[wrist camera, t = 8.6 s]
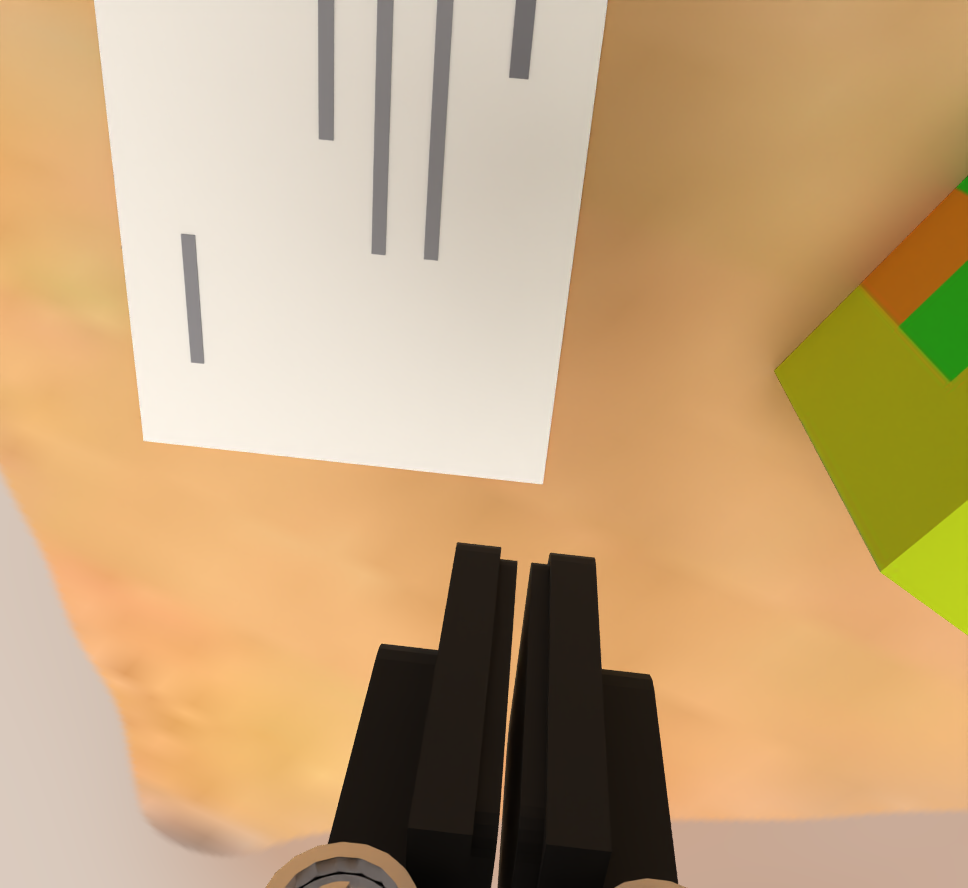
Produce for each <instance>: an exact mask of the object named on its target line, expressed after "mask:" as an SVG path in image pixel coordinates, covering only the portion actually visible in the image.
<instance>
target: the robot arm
mask: <svg viewBox="0 0 968 888" xmlns="http://www.w3.org/2000/svg"><path fill="white" fill-rule="evenodd" d="M500 554H501V547H494V546H485V545H476V544H467V543H459V542H457V546H456V551H455V557H454V563H453V569H452V574H451V580H450V586H449V592H448V598H447V603H446V609H445V615H444V621H443V626H442V632H441V638H440V644H439V650H432V649H423V648H414V647H406V646H397V645H388V644H381V645H380V647H379V649H378V653H377V656H376V660H375V663H374V667H373V671H372V675H371V679H370V683H369V687H368V691H367V694H366V698H365V702H364V706H363V710H362V714H361V718H360V722H359V725H358V729H357V733H356V737H355V741H354V745H353V749H352V753H351V756H350V760H349V764H348V768H347V772H346V776H345V780H344V784H343V787H342V791H341V795H340V799H339V803H338V807H337V811H336V815H335V818H334V822H333V826H332V830H331V834H330V838H329V842H328V844H327V845H320V846H317V847H315V848H312V849H310V850H308V851H306V852H304V853H302V854H299V855H297V856H295V857H294V858H293V859H291V860H290V861H289V862H288V863H287V864H286V865H284V866H283V867H282V868H281V869H279V870H278V871H277V872H276V873H275V874H274V876H273V878H272V879H271V880H270V882H269V883H268V885H267V886H266V888H491V883H492V876H493V869H494V861H495V853H496V845H497V836H498V826H499V815H500V802H501V788H502V774H503V760H504V746H505V732H506V717H507V703H508V689H509V675H510V661H511V647H512V633H513V618H514V604H515V590H516V576H517V561H512V560H503V559H500ZM498 888H686V887H683V886H681V885H678V879H677V871H676V863H675V854H674V846H673V838H672V830H671V822H670V814H669V806H668V798H667V789H666V781H665V773H664V765H663V757H662V749H661V741H660V733H659V725H658V717H657V708H656V700H655V692H654V686H653V681H652V678H651V676H650V675H649V674H640V673H632V672H623V671H614V670H605V669H602V668H601V649H600V631H599V613H598V595H597V576H596V562H595V558H593V557H584V556H575V555H566V554H557V553H550V555H549V559H548V564H539V563H531V568H530V575H529V582H528V589H527V597H526V604H525V612H524V619H523V626H522V634H521V641H520V649H519V656H518V663H517V671H516V678H515V686H514V693H513V700H512V708H511V715H510V723H509V732H508V743H507V756H506V771H505V786H504V800H503V815H502V830H501V846H500V860H499V876H498Z"/></svg>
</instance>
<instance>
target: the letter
mask: <svg viewBox="0 0 968 888" xmlns="http://www.w3.org/2000/svg"><path fill="white" fill-rule="evenodd" d="M607 3H608V0H94V4H95V13H96V22H97V31H98V40H99V49H100V58H101V66H102V75H103V84H104V93H105V102H106V111H107V120H108V129H109V137H110V146H111V155H112V164H113V173H114V182H115V191H116V199H117V208H118V217H119V226H120V235H121V244H122V253H123V262H124V270H125V279H126V288H127V297H128V306H129V315H130V324H131V332H132V341H133V350H134V359H135V368H136V377H137V386H138V395H139V403H140V412H141V421H142V430H143V439H144V441H150V442H159V443H168V444H177V445H186V446H196V447H205V448H214V449H223V450H232V451H241V452H251V453H260V454H269V455H278V456H287V457H297V458H306V459H315V460H324V461H333V462H342V463H352V464H361V465H370V466H379V467H388V468H397V469H407V470H416V471H425V472H434V473H443V474H452V475H462V476H471V477H480V478H489V479H498V480H508V481H517V482H526V483H535V484H543V479H544V472H545V464H546V457H547V449H548V442H549V435H550V427H551V420H552V412H553V405H554V397H555V390H556V382H557V375H558V367H559V360H560V353H561V345H562V338H563V330H564V323H565V315H566V308H567V300H568V293H569V286H570V278H571V271H572V263H573V256H574V248H575V241H576V233H577V226H578V219H579V211H580V204H581V196H582V189H583V181H584V174H585V166H586V159H587V152H588V144H589V137H590V129H591V122H592V114H593V107H594V99H595V92H596V85H597V77H598V70H599V62H600V55H601V47H602V40H603V32H604V25H605V18H606V10H607Z"/></svg>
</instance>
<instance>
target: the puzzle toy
mask: <svg viewBox="0 0 968 888" xmlns="http://www.w3.org/2000/svg"><path fill="white" fill-rule="evenodd" d="M774 372H775V374H776V376H777V378H778V380H779V382H780V383H781V385H782V387H783V389H784V391H785V393H786V395H787V397H788V399H789V400H790V402H791V404H792V406H793V408H794V410H795V412H796V414H797V416H798V417H799V419H800V421H801V423H802V425H803V427H804V429H805V431H806V433H807V435H808V436H809V438H810V440H811V442H812V444H813V446H814V448H815V450H816V452H817V453H818V455H819V457H820V459H821V461H822V463H823V465H824V467H825V469H826V471H827V472H828V474H829V476H830V478H831V480H832V482H833V484H834V486H835V488H836V489H837V491H838V493H839V495H840V497H841V499H842V501H843V503H844V505H845V506H846V508H847V510H848V512H849V514H850V516H851V518H852V520H853V522H854V524H855V525H856V527H857V529H858V531H859V533H860V535H861V537H862V539H863V541H864V542H865V544H866V546H867V548H868V550H869V552H870V554H871V556H872V558H873V560H874V561H875V563H876V565H877V567H878V569H879V571H880V572H881V573H882V574H884V575H885V576H886V577H888V578H889V579H890V580H892V581H893V582H895V583H896V584H897V585H899V586H900V587H901V588H903V589H904V590H906V591H907V592H908V593H910V594H911V595H913V596H914V597H915V598H917V599H918V600H919V601H921V602H922V603H924V604H925V605H926V606H928V607H929V608H931V609H932V610H933V611H935V612H936V613H937V614H939V615H940V616H942V617H943V618H944V619H946V620H947V621H949V622H950V623H951V624H953V625H954V626H955V627H957V628H958V629H960V630H961V631H962V632H964V633H965V634H966V635H968V176H967V177H966V178H965V179H964V180H963V181H962V182H961V183H960V184H959V185H958V186H957V187H956V188H955V189H954V190H953V191H952V192H951V193H950V194H949V195H948V196H947V197H946V198H945V199H944V200H943V201H942V202H941V203H940V204H939V205H938V206H937V207H936V208H935V209H934V210H933V211H932V212H931V213H930V214H929V215H928V216H927V217H926V218H925V219H924V220H923V221H922V222H921V223H920V224H919V225H918V226H917V227H916V228H915V229H914V230H913V231H912V232H911V233H910V234H909V235H908V236H907V237H906V238H905V239H904V240H903V241H902V242H901V243H900V244H899V245H898V246H897V247H896V248H895V249H894V250H893V251H892V252H891V253H890V255H889V256H888V257H887V258H886V259H885V260H884V261H883V262H882V263H881V264H880V265H879V266H878V267H877V268H876V269H875V270H874V271H873V272H872V273H871V274H870V275H869V276H868V277H867V278H866V279H865V280H864V281H863V282H862V283H861V284H860V285H859V286H858V287H857V288H856V289H855V290H854V291H853V292H852V293H851V294H850V295H849V296H848V297H847V298H846V299H845V300H844V301H843V302H842V303H841V304H840V305H839V306H838V307H837V308H836V309H835V310H834V311H833V312H832V313H831V314H830V315H829V316H828V317H827V318H826V319H825V320H824V321H823V322H822V323H821V324H820V325H819V326H818V327H817V328H816V329H815V330H814V331H813V332H812V333H811V334H810V335H809V336H808V337H807V338H806V339H805V340H804V341H803V342H802V343H801V344H800V345H799V346H798V347H797V348H796V349H795V350H794V351H793V352H792V353H791V354H790V355H789V356H788V357H787V358H786V359H785V360H784V361H783V362H782V363H781V364H780V365H779V366H778V367H777V368H776V369H775V370H774Z"/></svg>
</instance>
